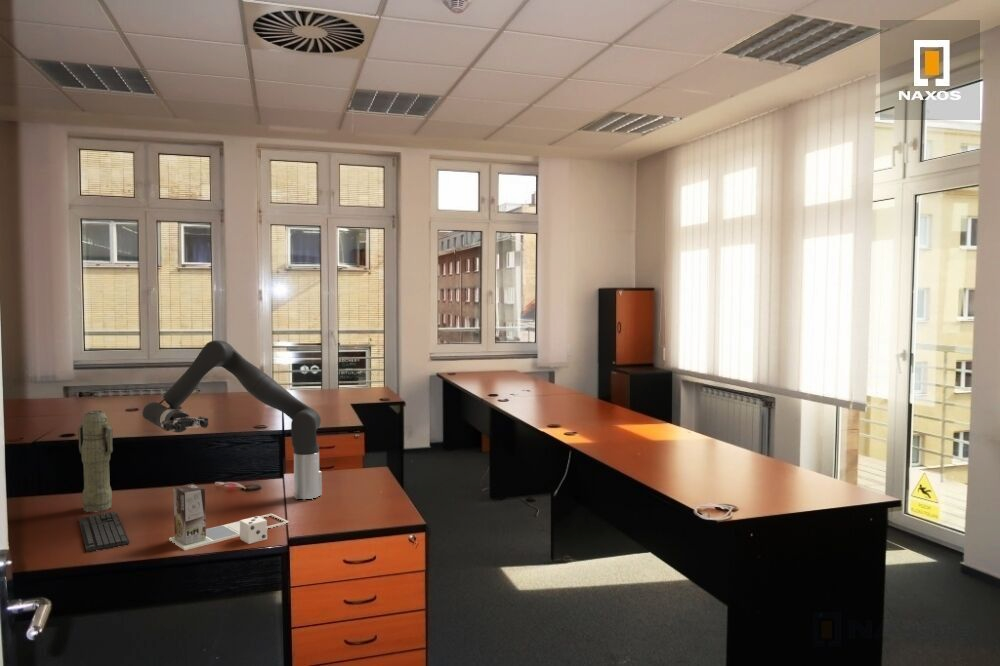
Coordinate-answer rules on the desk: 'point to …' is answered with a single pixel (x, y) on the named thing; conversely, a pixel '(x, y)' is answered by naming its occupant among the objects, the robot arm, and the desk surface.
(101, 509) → the khaki stone statue
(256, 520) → the die
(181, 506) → the coffee box
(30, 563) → the desk surface
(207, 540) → the board
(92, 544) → the keyboard
